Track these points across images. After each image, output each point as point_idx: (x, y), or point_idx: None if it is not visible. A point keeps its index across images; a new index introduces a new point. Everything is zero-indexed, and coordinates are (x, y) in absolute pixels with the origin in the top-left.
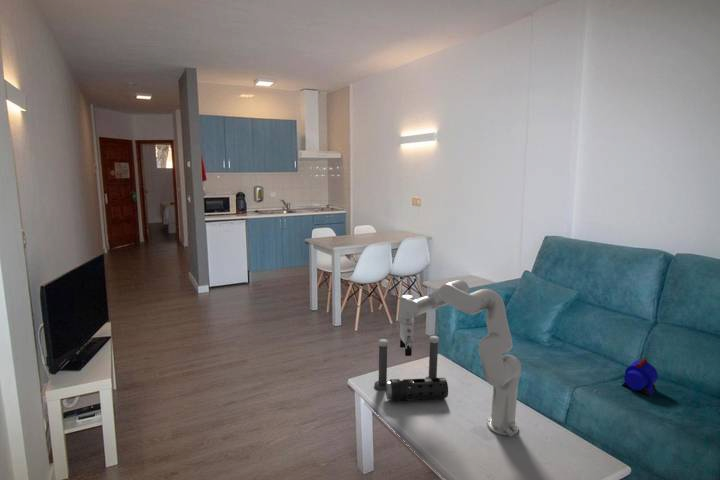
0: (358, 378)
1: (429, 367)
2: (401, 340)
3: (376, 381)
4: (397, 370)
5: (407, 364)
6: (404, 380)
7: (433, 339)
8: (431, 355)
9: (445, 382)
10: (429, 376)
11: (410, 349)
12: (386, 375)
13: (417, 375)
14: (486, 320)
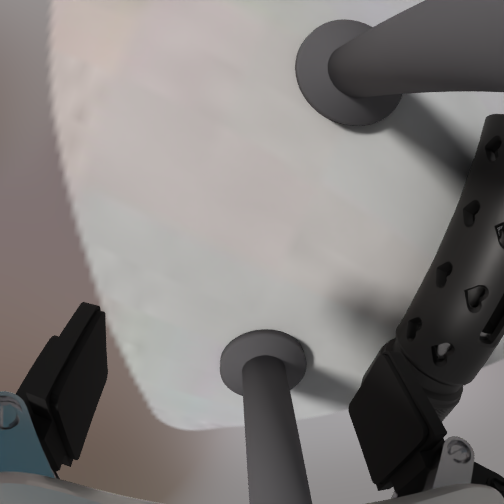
0: (155, 411)
1: (402, 91)
2: (67, 457)
3: (225, 384)
4: (111, 215)
5: (58, 115)
6: (460, 384)
7: None
8: None
9: None
10: (371, 96)
11: (442, 439)
12: (288, 402)
13: (222, 112)
14: None
